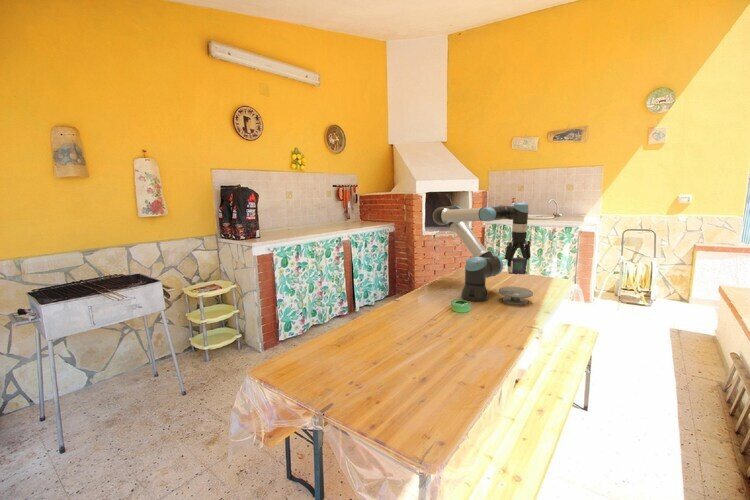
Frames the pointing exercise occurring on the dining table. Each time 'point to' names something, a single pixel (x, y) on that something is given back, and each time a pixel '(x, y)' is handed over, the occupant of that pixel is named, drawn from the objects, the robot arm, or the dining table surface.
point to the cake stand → (515, 295)
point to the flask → (519, 265)
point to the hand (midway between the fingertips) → (516, 271)
